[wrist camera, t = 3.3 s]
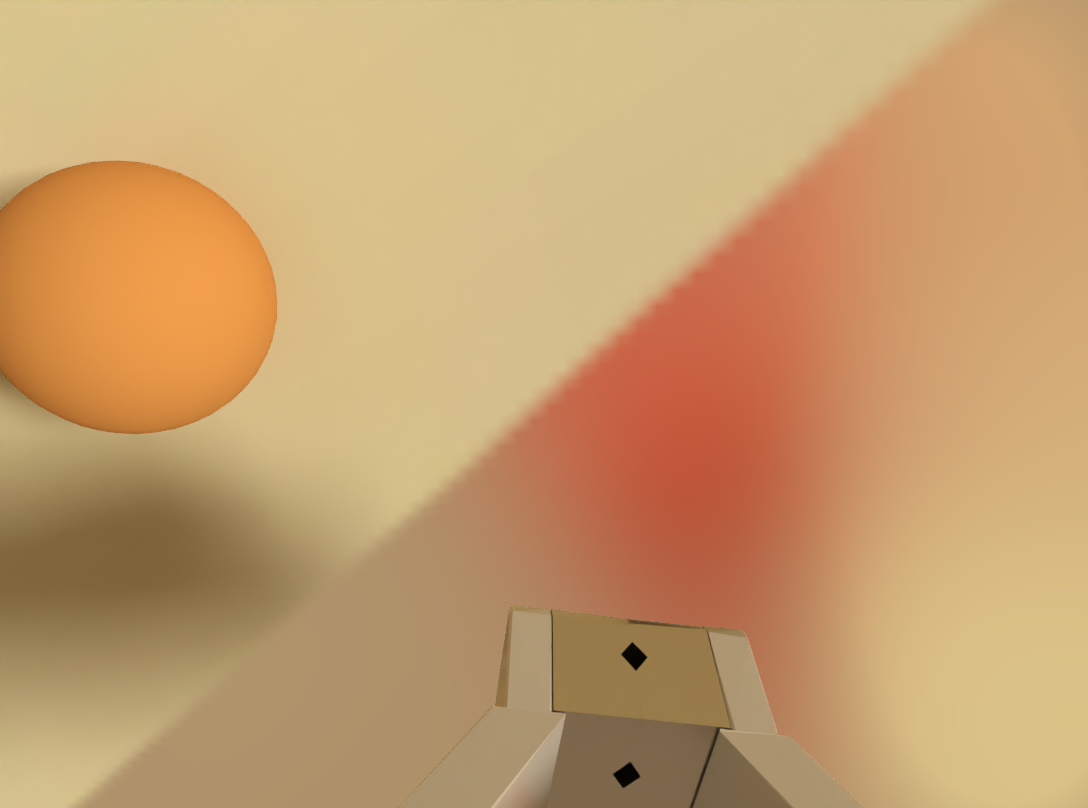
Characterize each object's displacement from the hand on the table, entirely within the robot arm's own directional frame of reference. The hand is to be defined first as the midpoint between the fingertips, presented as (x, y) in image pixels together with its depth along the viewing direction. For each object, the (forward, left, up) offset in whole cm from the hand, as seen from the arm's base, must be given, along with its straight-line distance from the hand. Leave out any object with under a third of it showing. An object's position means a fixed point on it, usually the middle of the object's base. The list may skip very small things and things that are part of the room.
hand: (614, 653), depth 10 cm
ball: (-1, -10, -8) cm, 12 cm away
